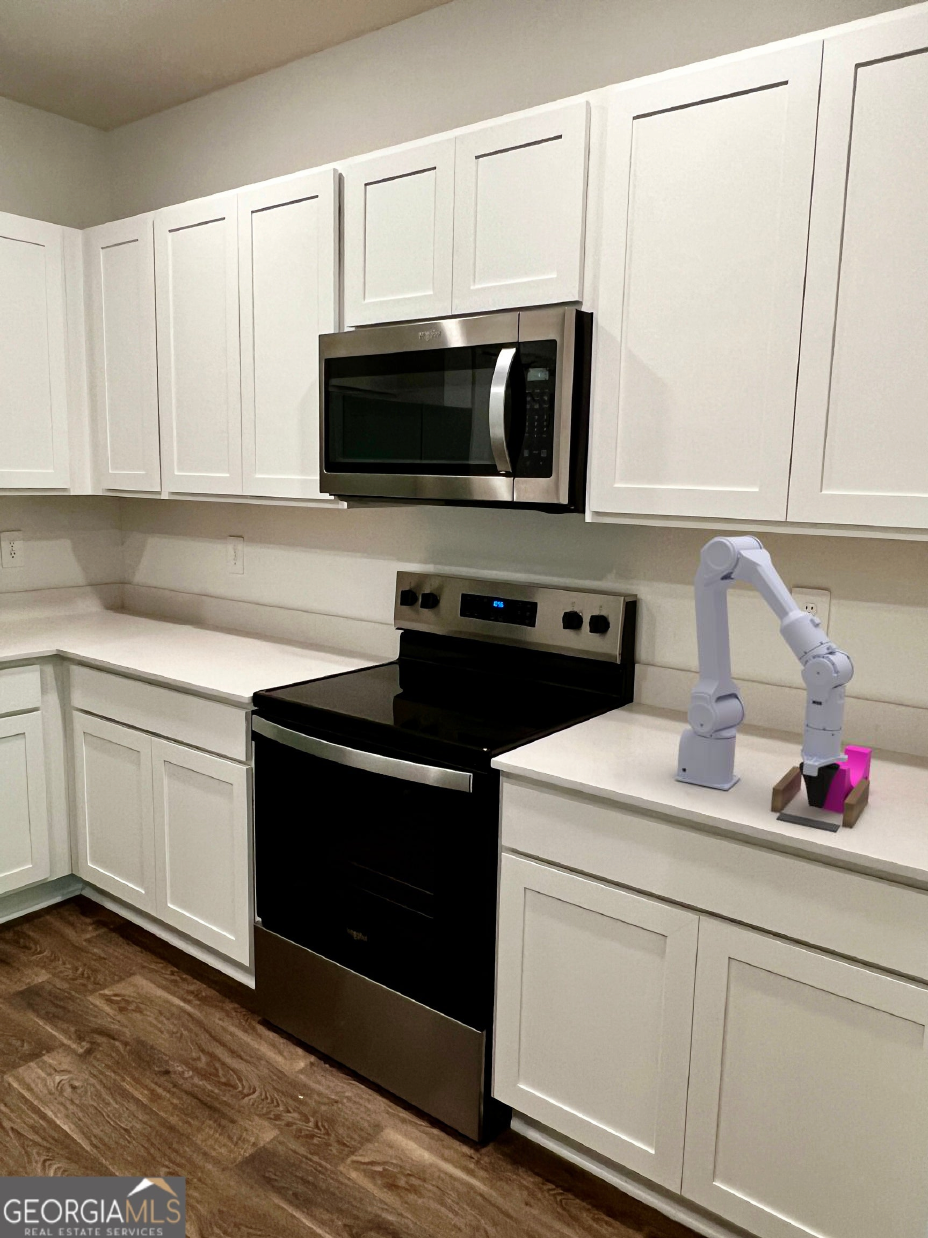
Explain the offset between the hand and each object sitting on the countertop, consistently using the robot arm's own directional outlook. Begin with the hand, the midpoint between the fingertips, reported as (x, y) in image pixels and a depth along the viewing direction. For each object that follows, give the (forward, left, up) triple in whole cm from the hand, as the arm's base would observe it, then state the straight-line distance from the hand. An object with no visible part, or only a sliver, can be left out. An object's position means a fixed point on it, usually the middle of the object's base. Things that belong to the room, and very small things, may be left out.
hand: (816, 806), depth 148 cm
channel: (0, +3, -1) cm, 3 cm away
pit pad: (0, -5, -1) cm, 6 cm away
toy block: (+1, +10, -1) cm, 10 cm away
